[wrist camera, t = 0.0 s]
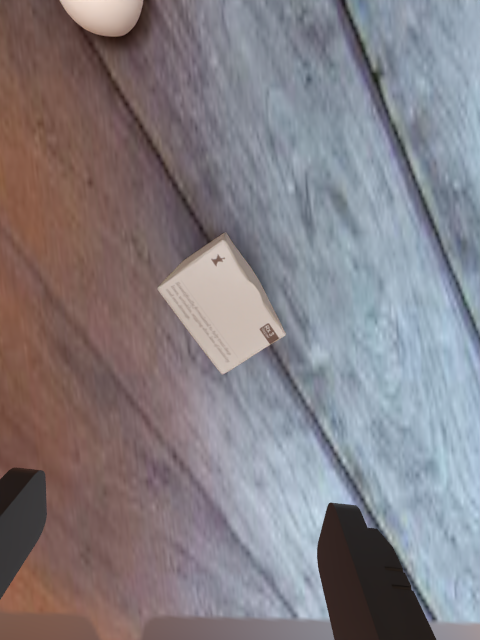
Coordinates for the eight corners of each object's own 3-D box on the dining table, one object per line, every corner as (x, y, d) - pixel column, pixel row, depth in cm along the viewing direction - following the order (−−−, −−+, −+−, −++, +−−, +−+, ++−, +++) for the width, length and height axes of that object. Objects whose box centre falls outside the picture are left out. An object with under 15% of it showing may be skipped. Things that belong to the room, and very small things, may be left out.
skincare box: (183, 261, 37) (146, 284, 22) (228, 229, 36) (221, 233, 21) (226, 322, 38) (218, 380, 24) (270, 293, 38) (289, 336, 23)
